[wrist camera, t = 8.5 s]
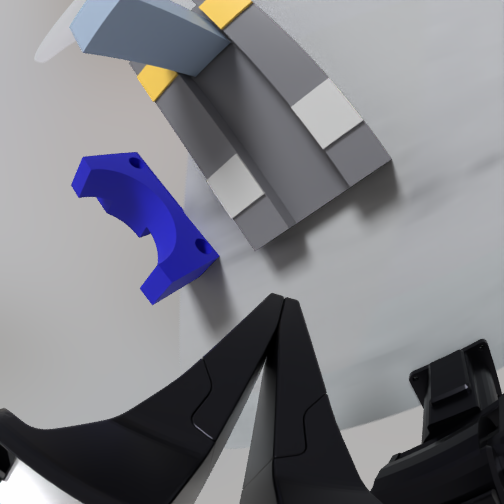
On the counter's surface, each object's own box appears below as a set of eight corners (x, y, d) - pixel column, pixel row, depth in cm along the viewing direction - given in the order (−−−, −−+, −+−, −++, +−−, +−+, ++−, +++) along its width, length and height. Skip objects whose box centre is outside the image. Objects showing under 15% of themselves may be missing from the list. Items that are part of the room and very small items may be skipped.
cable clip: (117, 187, 28) (66, 198, 23) (137, 152, 25) (82, 157, 20) (191, 285, 27) (144, 314, 22) (220, 255, 24) (172, 282, 19)
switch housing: (391, 159, 17) (391, 159, 14) (270, 241, 22) (253, 252, 20) (230, -16, 17) (212, -30, 15) (150, 67, 22) (127, 62, 20)
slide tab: (230, 42, 17) (123, -6, 9) (195, 77, 19) (82, 52, 11) (208, 19, 18) (105, -26, 9) (176, 53, 19) (69, 26, 11)
